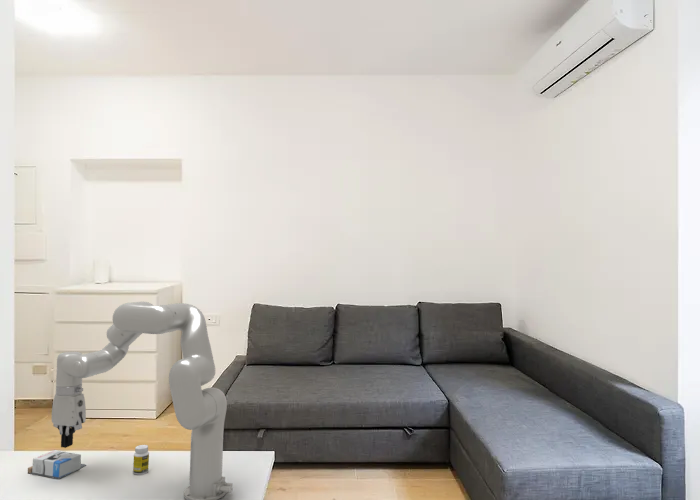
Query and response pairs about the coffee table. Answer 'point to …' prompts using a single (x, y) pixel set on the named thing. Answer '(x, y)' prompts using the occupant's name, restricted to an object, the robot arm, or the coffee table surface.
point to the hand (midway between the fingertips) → (66, 446)
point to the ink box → (56, 463)
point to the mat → (47, 475)
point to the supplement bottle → (141, 460)
